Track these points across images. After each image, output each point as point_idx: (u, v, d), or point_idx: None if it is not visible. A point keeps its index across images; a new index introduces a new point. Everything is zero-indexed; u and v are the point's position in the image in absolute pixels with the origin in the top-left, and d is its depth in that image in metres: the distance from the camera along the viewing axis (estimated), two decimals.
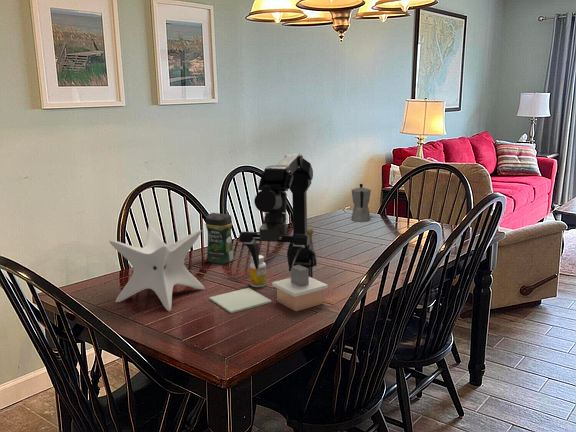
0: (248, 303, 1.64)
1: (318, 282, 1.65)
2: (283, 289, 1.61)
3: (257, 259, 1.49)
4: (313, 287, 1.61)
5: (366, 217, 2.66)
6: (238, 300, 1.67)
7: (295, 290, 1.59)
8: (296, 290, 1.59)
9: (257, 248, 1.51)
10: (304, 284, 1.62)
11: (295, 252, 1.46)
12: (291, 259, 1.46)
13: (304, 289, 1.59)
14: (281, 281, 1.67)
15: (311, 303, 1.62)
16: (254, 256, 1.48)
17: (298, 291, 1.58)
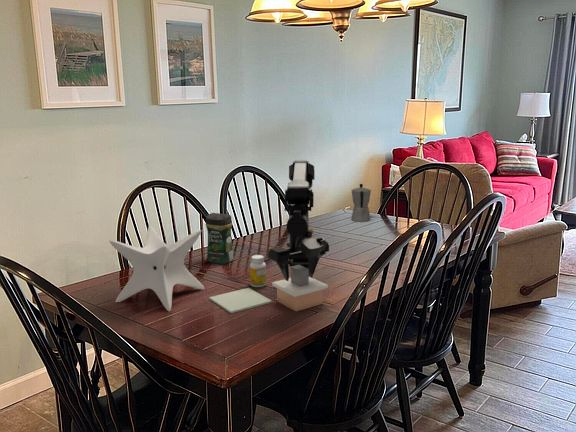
0: (248, 303, 1.64)
1: (318, 282, 1.65)
2: (283, 289, 1.61)
3: None
4: (313, 287, 1.61)
5: (366, 217, 2.66)
6: (238, 300, 1.67)
7: (295, 290, 1.59)
8: (296, 290, 1.59)
9: None
10: (304, 284, 1.62)
11: (319, 258, 1.65)
12: (315, 264, 1.65)
13: (304, 289, 1.59)
14: (281, 281, 1.67)
15: (311, 303, 1.62)
16: (287, 270, 1.60)
17: (298, 291, 1.58)
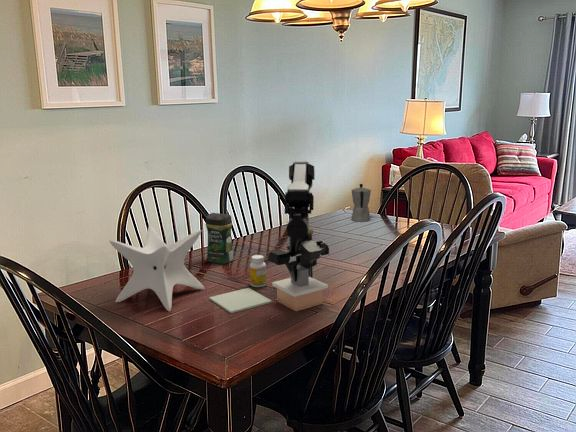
0: (248, 303, 1.64)
1: (318, 282, 1.65)
2: (283, 289, 1.61)
3: None
4: (313, 287, 1.61)
5: (366, 217, 2.66)
6: (238, 300, 1.67)
7: (295, 290, 1.59)
8: (296, 290, 1.59)
9: None
10: (304, 284, 1.62)
11: (311, 262, 1.64)
12: None
13: (304, 289, 1.59)
14: (281, 281, 1.67)
15: (311, 303, 1.62)
16: (295, 271, 1.61)
17: (298, 291, 1.58)
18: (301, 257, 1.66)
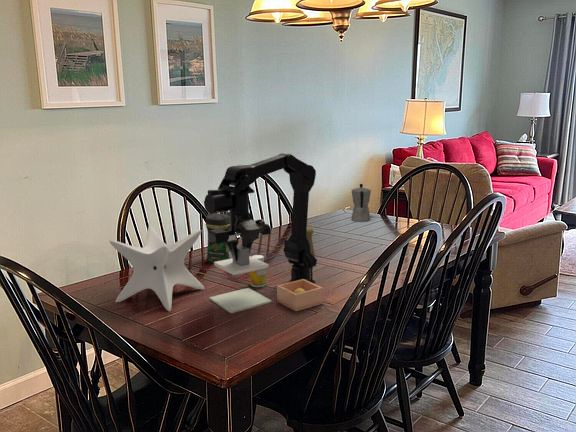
0: (248, 303, 1.64)
1: (259, 262, 1.66)
2: (223, 268, 1.62)
3: None
4: (253, 266, 1.61)
5: (366, 217, 2.66)
6: (238, 300, 1.67)
7: (234, 269, 1.59)
8: (235, 269, 1.59)
9: None
10: (244, 263, 1.63)
11: (252, 242, 1.64)
12: None
13: (244, 268, 1.60)
14: (223, 261, 1.67)
15: (311, 303, 1.62)
16: (235, 250, 1.62)
17: (237, 270, 1.58)
18: (242, 237, 1.66)
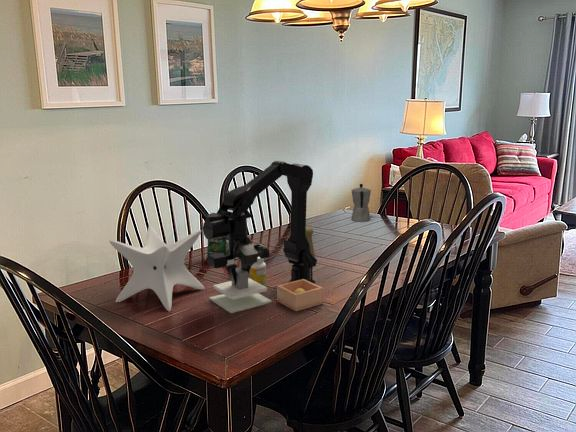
0: (248, 303, 1.64)
1: (258, 285, 1.68)
2: (222, 292, 1.64)
3: None
4: (252, 290, 1.63)
5: (366, 217, 2.66)
6: (238, 300, 1.67)
7: (233, 293, 1.61)
8: (234, 293, 1.61)
9: None
10: (243, 287, 1.65)
11: (251, 265, 1.66)
12: None
13: (242, 292, 1.62)
14: (222, 284, 1.69)
15: (311, 303, 1.62)
16: (234, 274, 1.64)
17: (236, 294, 1.60)
18: (241, 260, 1.68)
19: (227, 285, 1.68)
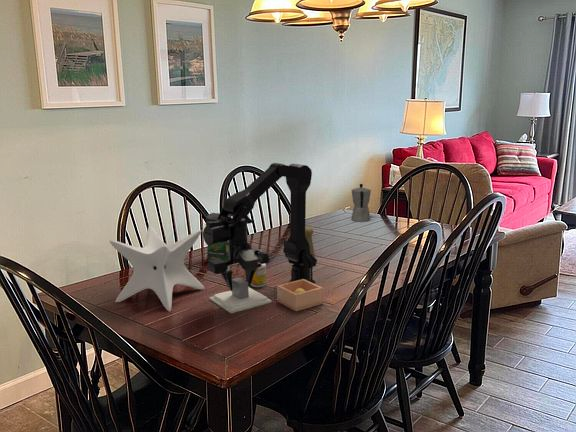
0: None
1: (258, 294, 1.68)
2: (223, 302, 1.64)
3: None
4: (252, 300, 1.64)
5: (366, 217, 2.66)
6: None
7: (233, 303, 1.62)
8: (234, 303, 1.62)
9: None
10: (243, 297, 1.65)
11: (255, 270, 1.67)
12: (251, 276, 1.67)
13: (243, 302, 1.62)
14: (223, 293, 1.70)
15: (311, 303, 1.62)
16: (230, 281, 1.63)
17: (236, 304, 1.61)
18: None
19: (227, 295, 1.69)
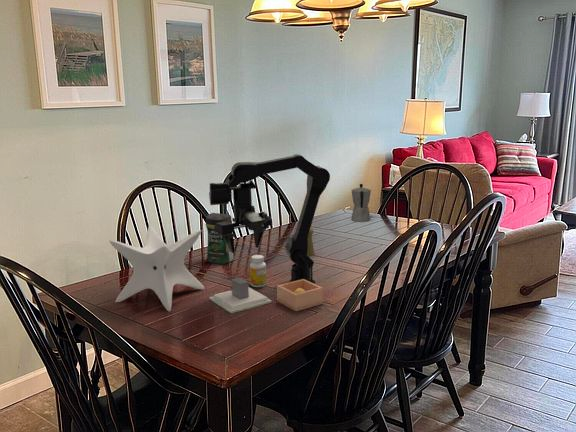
0: None
1: (258, 294, 1.68)
2: (223, 302, 1.64)
3: None
4: (252, 300, 1.64)
5: (366, 217, 2.66)
6: None
7: (233, 303, 1.62)
8: (234, 303, 1.62)
9: None
10: (243, 297, 1.65)
11: (263, 231, 1.78)
12: (259, 238, 1.78)
13: (243, 302, 1.62)
14: (223, 293, 1.70)
15: (311, 303, 1.62)
16: (232, 243, 1.72)
17: (236, 304, 1.61)
18: None
19: (227, 295, 1.69)
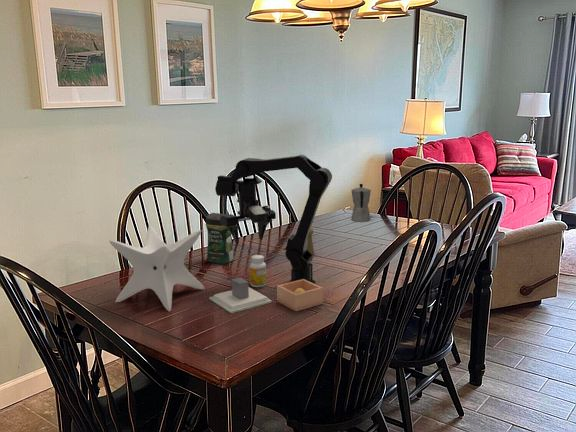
0: None
1: (258, 294, 1.68)
2: (223, 302, 1.64)
3: None
4: (252, 300, 1.64)
5: (366, 217, 2.66)
6: None
7: (233, 303, 1.62)
8: (234, 303, 1.62)
9: None
10: (243, 297, 1.65)
11: (266, 225, 1.86)
12: (263, 230, 1.86)
13: (243, 302, 1.62)
14: (223, 293, 1.70)
15: (311, 303, 1.62)
16: (237, 234, 1.81)
17: (236, 304, 1.61)
18: None
19: (227, 295, 1.69)
